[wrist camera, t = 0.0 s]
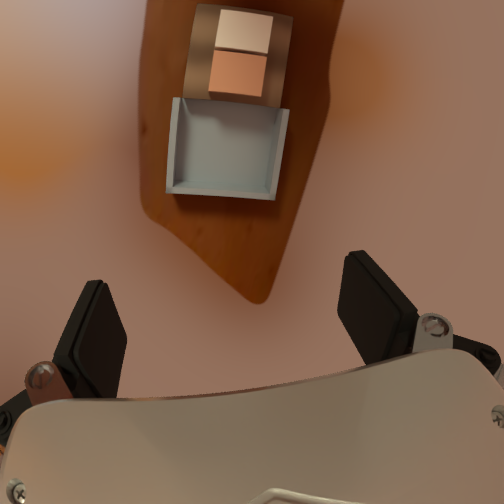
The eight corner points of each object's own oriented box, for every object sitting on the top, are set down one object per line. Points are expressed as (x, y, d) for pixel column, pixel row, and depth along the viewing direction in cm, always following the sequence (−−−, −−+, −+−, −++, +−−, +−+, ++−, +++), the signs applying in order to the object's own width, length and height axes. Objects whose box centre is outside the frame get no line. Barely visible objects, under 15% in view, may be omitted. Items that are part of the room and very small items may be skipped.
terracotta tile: (213, 53, 29) (214, 50, 27) (262, 59, 30) (266, 57, 28) (208, 91, 32) (208, 90, 29) (257, 97, 33) (260, 96, 31)
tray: (176, 98, 34) (173, 97, 30) (281, 109, 37) (289, 109, 33) (169, 184, 39) (165, 192, 36) (268, 191, 42) (274, 200, 39)
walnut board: (197, 10, 28) (197, 3, 26) (287, 22, 30) (293, 17, 28) (184, 98, 34) (182, 97, 31) (274, 107, 36) (279, 108, 34)
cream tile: (220, 15, 27) (221, 9, 25) (268, 21, 28) (273, 16, 26) (214, 50, 29) (214, 46, 27) (263, 56, 30) (267, 53, 28)
